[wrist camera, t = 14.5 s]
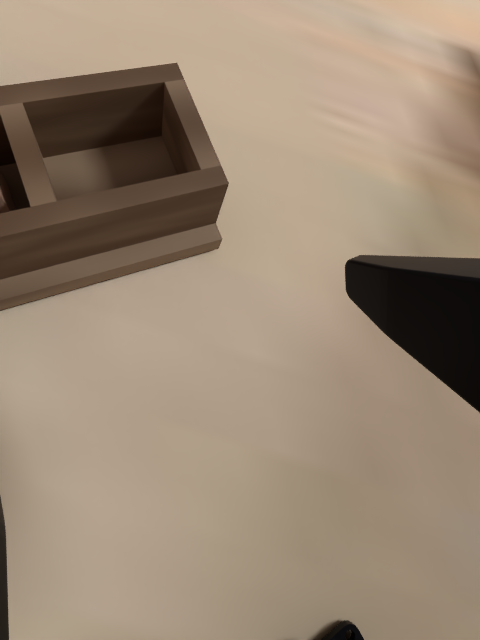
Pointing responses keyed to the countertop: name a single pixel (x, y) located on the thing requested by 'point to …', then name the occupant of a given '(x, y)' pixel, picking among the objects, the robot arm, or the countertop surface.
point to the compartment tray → (103, 180)
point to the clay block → (5, 196)
